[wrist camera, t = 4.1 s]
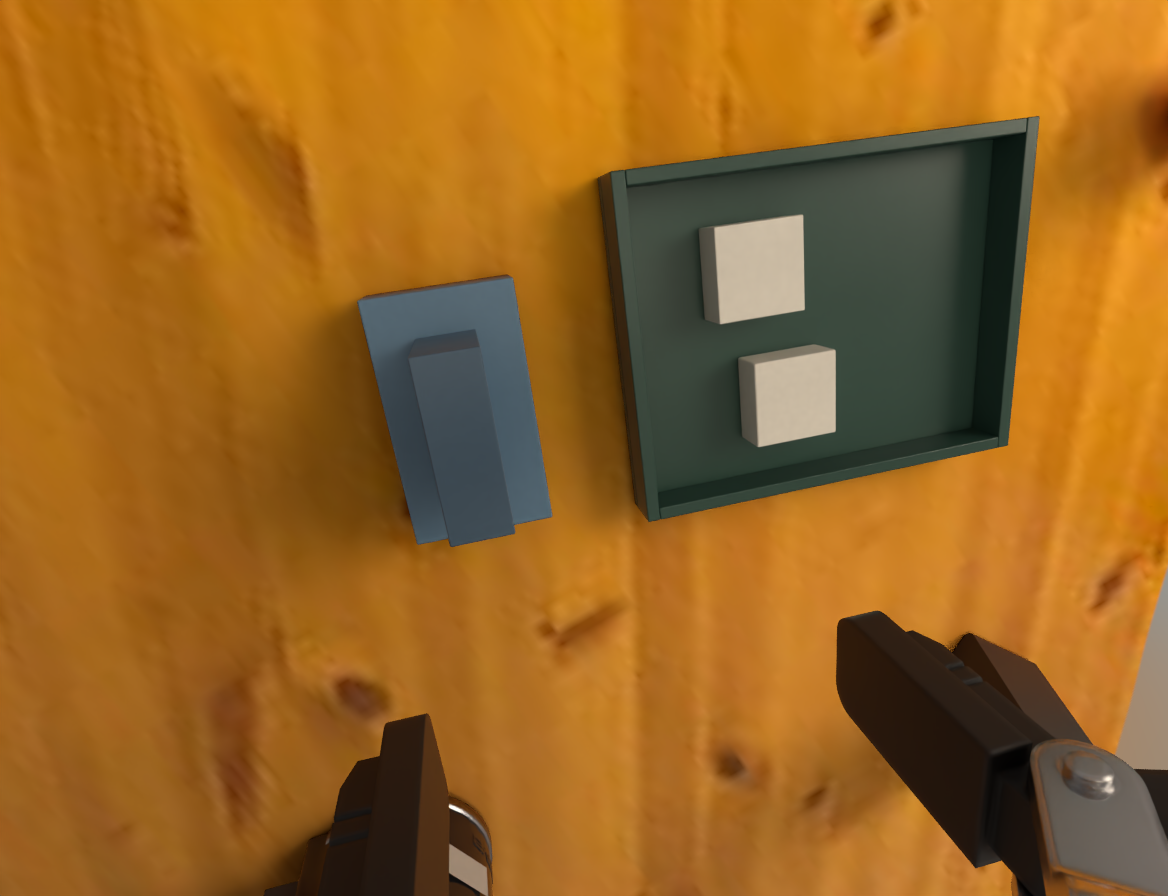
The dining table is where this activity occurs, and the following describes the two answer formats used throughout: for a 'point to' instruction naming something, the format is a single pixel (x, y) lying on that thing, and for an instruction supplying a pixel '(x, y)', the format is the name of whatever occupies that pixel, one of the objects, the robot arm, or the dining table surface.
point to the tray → (824, 307)
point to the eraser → (458, 407)
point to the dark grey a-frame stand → (1020, 686)
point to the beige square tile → (787, 394)
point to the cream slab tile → (752, 269)
